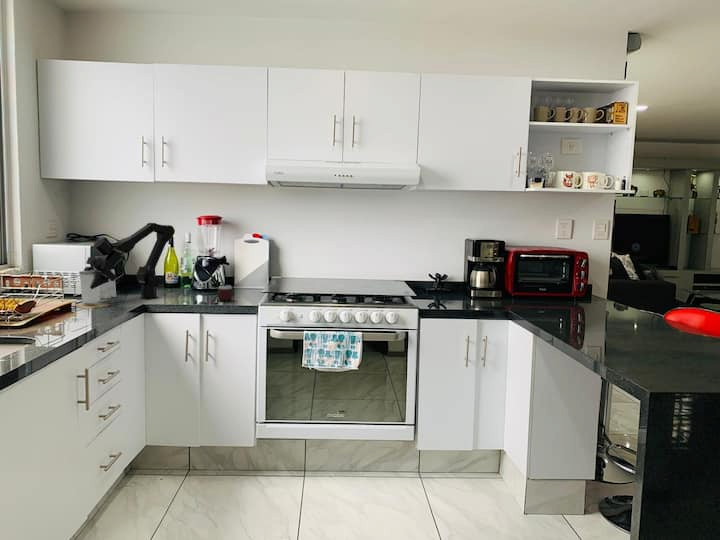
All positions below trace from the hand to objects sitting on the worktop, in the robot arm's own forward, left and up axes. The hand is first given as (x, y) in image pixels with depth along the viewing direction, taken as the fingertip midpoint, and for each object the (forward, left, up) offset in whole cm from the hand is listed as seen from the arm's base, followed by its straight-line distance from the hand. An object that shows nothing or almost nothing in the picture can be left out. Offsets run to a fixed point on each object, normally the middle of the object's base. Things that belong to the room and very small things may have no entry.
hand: (87, 287), depth 248 cm
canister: (-1, 0, -6) cm, 7 cm away
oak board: (-1, 0, -9) cm, 9 cm away
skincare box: (-17, -18, -9) cm, 26 cm away
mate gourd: (-50, +34, -9) cm, 61 cm away
